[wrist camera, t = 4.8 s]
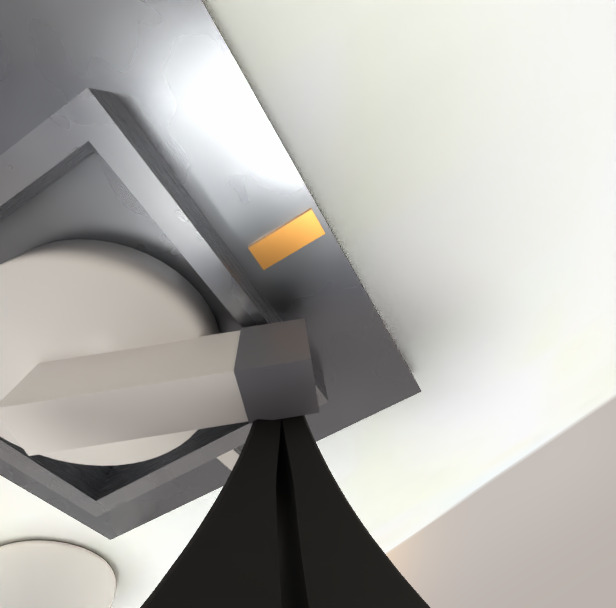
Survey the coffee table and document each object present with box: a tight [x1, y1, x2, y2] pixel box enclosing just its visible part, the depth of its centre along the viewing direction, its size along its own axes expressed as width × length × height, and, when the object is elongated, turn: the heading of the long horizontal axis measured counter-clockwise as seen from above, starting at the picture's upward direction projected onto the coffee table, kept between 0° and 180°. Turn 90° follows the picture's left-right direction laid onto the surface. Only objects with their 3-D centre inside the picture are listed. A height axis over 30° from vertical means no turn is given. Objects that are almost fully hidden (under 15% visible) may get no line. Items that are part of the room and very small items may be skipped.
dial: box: [0, 239, 319, 466], centre depth 11 cm, size 11×8×4 cm
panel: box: [0, 0, 421, 540], centre depth 13 cm, size 18×18×3 cm
